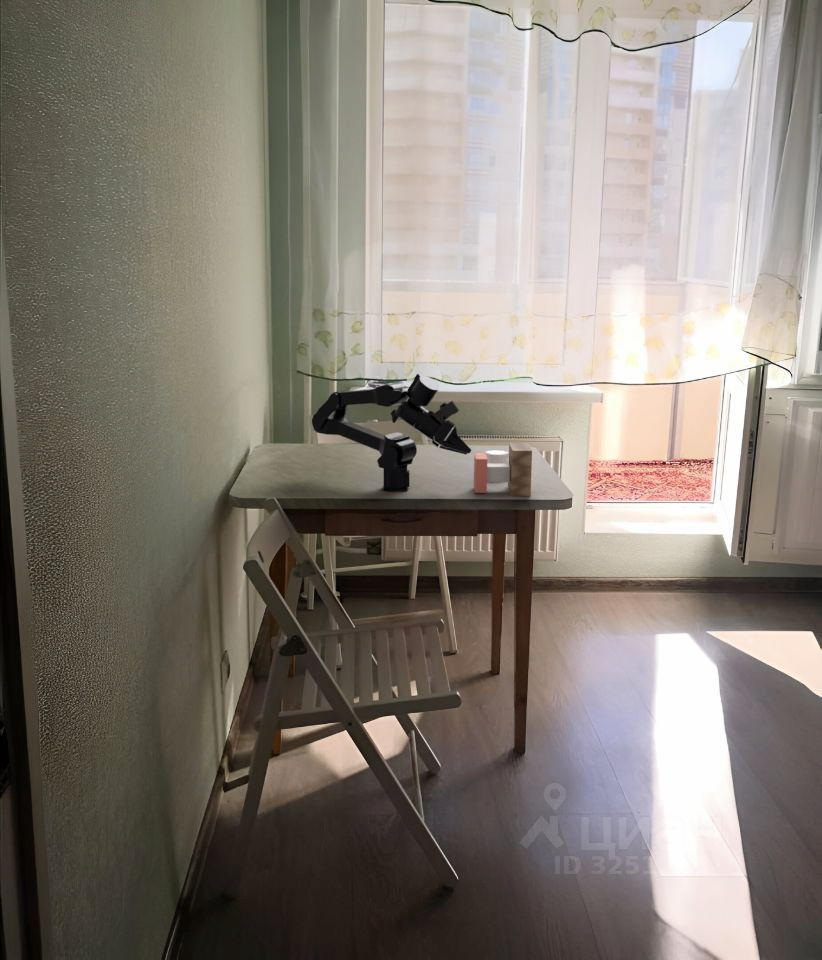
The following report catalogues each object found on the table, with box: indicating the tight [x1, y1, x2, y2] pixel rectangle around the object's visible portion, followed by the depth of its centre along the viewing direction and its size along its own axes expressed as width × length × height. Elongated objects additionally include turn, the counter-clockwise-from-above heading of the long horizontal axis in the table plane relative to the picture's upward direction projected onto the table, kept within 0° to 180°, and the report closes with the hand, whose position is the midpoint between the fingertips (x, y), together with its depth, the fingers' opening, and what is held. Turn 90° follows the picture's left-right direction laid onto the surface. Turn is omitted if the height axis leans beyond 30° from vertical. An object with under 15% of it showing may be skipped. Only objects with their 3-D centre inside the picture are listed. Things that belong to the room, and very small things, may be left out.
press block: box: [507, 442, 533, 497], centre depth 243 cm, size 5×10×12 cm, turn 179°
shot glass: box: [484, 449, 509, 464], centre depth 260 cm, size 7×7×7 cm
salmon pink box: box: [473, 452, 510, 494], centre depth 243 cm, size 9×7×9 cm
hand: (468, 452), depth 239 cm, fingers open, 9 cm apart
